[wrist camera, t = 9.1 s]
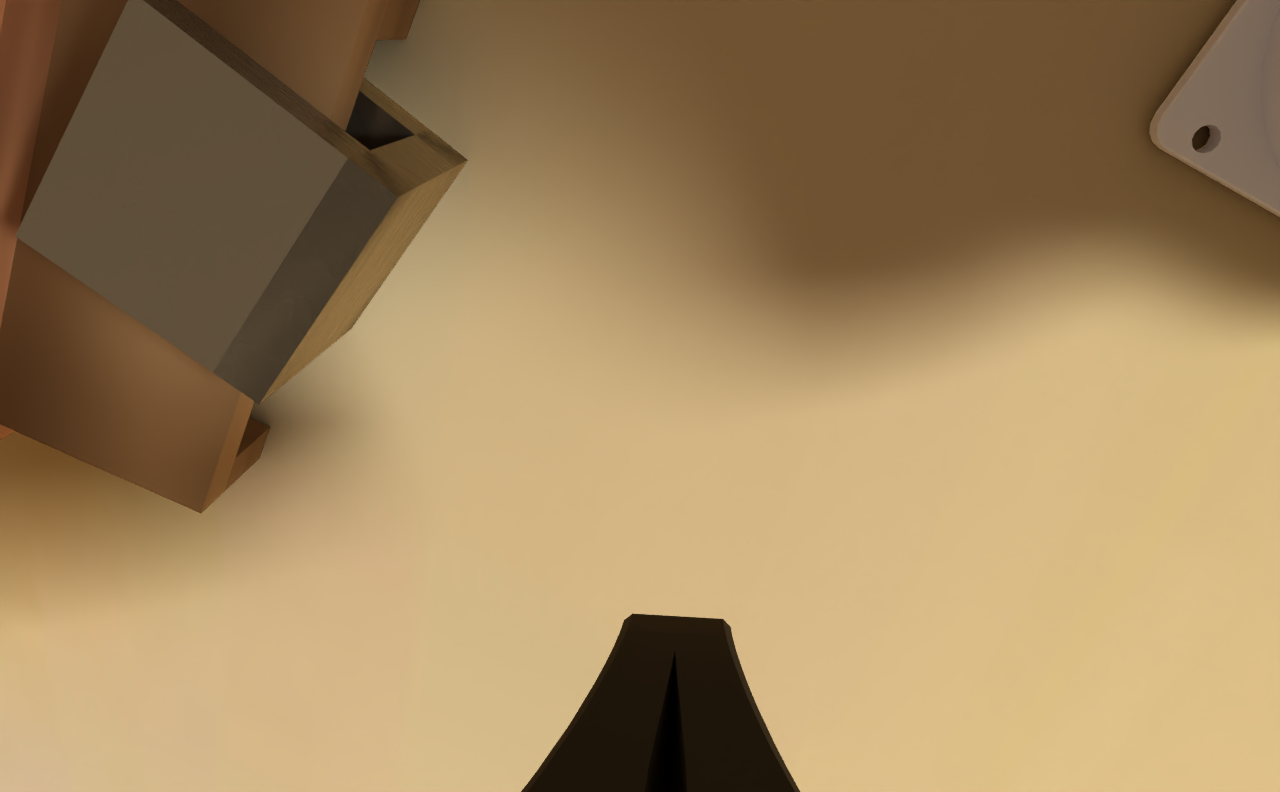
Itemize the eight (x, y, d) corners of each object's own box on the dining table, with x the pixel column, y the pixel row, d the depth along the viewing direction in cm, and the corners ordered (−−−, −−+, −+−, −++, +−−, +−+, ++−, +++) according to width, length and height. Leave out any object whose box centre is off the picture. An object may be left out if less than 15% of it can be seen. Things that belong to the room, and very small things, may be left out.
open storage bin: (467, 160, 18) (398, 197, 14) (351, 328, 20) (259, 404, 16) (269, 1, 17) (132, -9, 13) (164, 192, 19) (15, 236, 15)
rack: (440, -60, 17) (365, -86, 13) (248, 488, 22) (156, 579, 18) (96, -247, 16) (-88, -330, 12) (-17, 369, 21) (-168, 439, 18)
